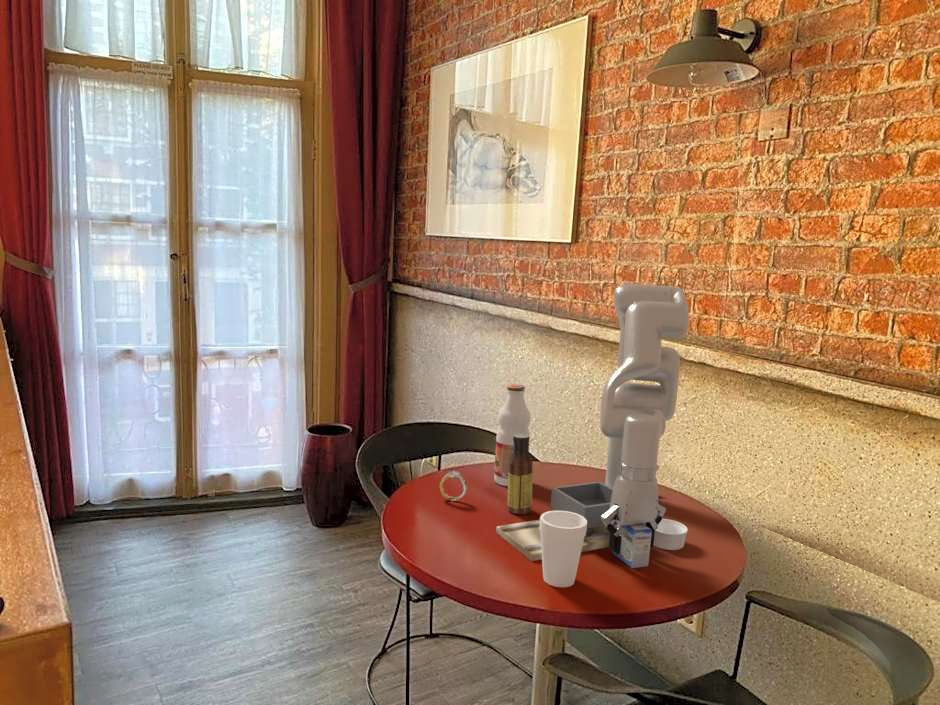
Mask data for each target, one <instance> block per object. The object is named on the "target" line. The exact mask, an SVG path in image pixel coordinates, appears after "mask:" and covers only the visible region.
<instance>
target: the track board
mask: <svg viewBox="0 0 940 705" xmlns="http://www.w3.org/2000/svg"><path fill="white" fill-rule="evenodd" d="M539 525H540V519H536V520H530V521H523V522H516V523H511V524H510V523H509V524H504V525H498V526H496V528H495V533H496V534H497V535H499V536H500V537H501V538H502V539H504V540H505V542H507V543H509V545H511V546H512V547H514V549H516V550H517V551H519V552H520V553H521V555H523V556H524V557H525V558H527V559H528V560H529V561H531V562H533V561H539V560H542V550H541V534H540V529H539ZM609 537H610V532H608V530H607V529H606V528H605V527H604V526H598V527H594V533H593V535H591V536H587V535H585V536H584V541H583V545H582V550H581V553H583V552H588V551H594V550H600V549H605V548H609Z"/></svg>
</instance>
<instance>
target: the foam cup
mask: <svg viewBox="0 0 940 705" xmlns="http://www.w3.org/2000/svg"><path fill="white" fill-rule="evenodd" d="M539 520H540V525H539V529H540V534H541V550H542V559H541V563H542V564H541V565H542V577H543V578H542V579H543V581H544V582H545V583H547V585H549V586H552V587H556V588H568V587H572V586H573V585H574V584H575V580H576V578H577V573H578V566H579V563H580V559H581V558H580V557H581V555H582V552H581V550H582V545H583V541H584V536H585V535H586V531H587V520H586V519H585V518H584V517H583V516H581V515H579V514H577V513H573V512H569V511H558V510H556V511H555V510H549V511H545V512H543V513H542V514H541V515H540V517H539Z"/></svg>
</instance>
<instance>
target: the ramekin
mask: <svg viewBox="0 0 940 705" xmlns="http://www.w3.org/2000/svg"><path fill="white" fill-rule="evenodd" d="M688 532H689V529H688V527H687V526H686V525H685V524H683V523H681V522H680V521H679V522H678V521H676V520H673V519H668V518H667V519H666V518H662V520H661V522H660V523H659V524H658V528H657V529H656V530H655V534H654V544H653V547H656V548H658V549H662V550H666V551H667V550H668V551H677V550H682V548H684V546H685V542H686V537H687V534H688Z"/></svg>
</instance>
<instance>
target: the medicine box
mask: <svg viewBox="0 0 940 705" xmlns="http://www.w3.org/2000/svg"><path fill="white" fill-rule="evenodd" d="M619 521H620V520H619ZM618 525H619V524H617V525H616V527H615V528H617V527H618ZM651 534H652V529H650V528H649V527H647V526H646V524H645V523H642V524H636V525H630V526H625V527H624V528H623V530H622V532H621V533H620V536H621V537H622V539H621V550H620V553H619V554H616V553H615V552H613V551H612V550H611V552H612V554H613V556H615V557H617V558H618V559H619V560H620V561H621V562H623V563H625V564H626V565H627V566H629V568H631V569H636V568H645V567H649V561H650V552H651V548H650V544H651Z"/></svg>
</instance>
